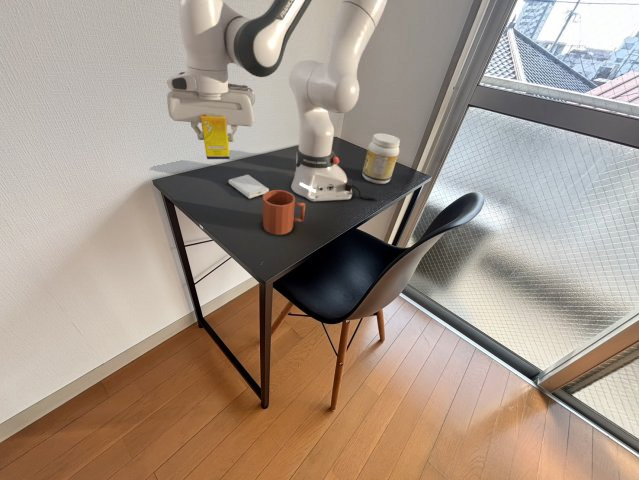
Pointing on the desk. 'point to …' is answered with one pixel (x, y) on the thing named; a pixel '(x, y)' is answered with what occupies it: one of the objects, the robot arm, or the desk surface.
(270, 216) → the mug
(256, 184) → the hard drive
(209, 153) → the supplement box
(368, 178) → the supplement tub
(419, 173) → the desk surface
